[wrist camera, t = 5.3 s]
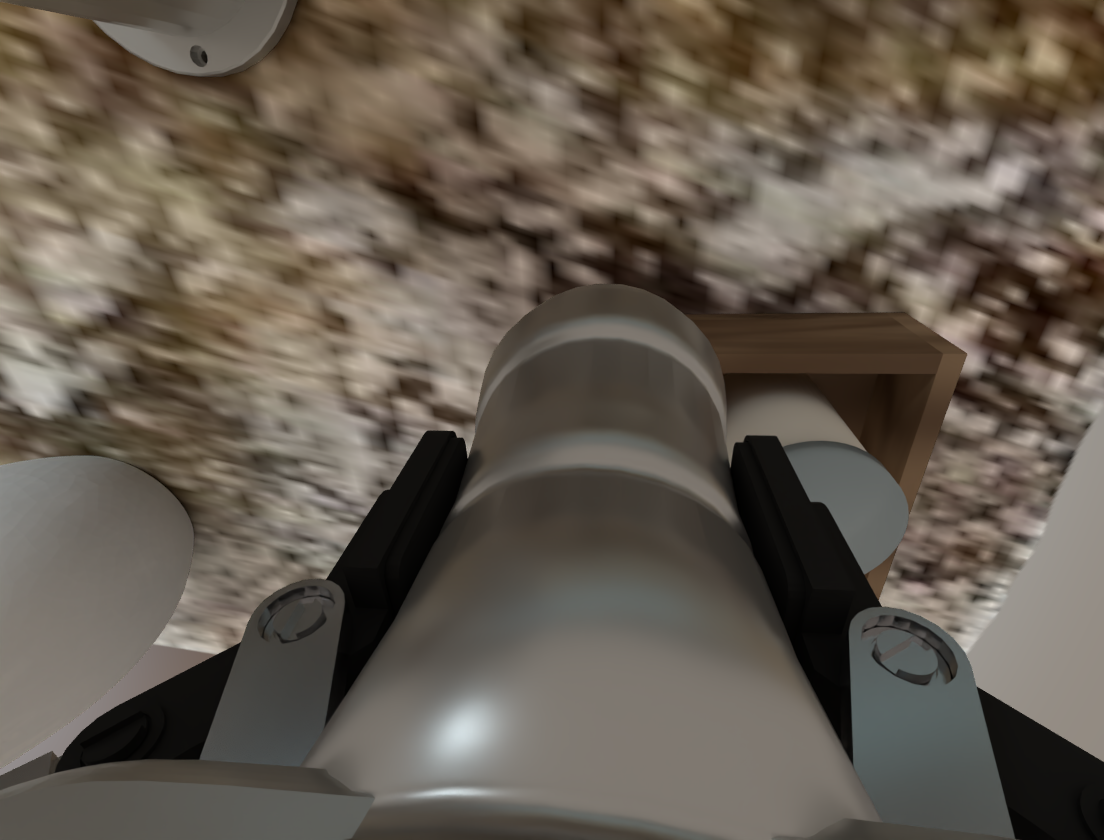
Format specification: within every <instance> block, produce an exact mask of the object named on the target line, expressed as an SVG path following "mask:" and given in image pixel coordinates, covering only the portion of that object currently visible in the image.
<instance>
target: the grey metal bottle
mask: <svg viewBox="0 0 1104 840" xmlns="http://www.w3.org/2000/svg"><path fill="white" fill-rule="evenodd" d="M726 439H727V401H726V392H725V383H724V379H723V374H722V370H721V366H720V362H719V359H718V357H717V355H716V354H715V352H714V350H713V348H712V346H711V344H710V342H709V340H708V339H707V338H706V336H705V335H704V334H703V333H702V332H701V330H700V329H699V328H698V327H697V326H696V325H695V323H694V322H693V321H692V320H690V319H689V318H688V317H687V316H685V315H684V314H683V313H682V312H680V311H679V310H678V309H676V308H675V307H674V306H673V305H671V304H670V303H669V302H667V301H666V300H665V299H663V298H661V297H659V296H657V295H654V294H652V293H650V292H648V291H646V290H643V289H639V288H635V287H631V286H626V285H622V284H594V285H588V286H582V287H576V288H574V289H571V290H568V291H566V292H563V293H560V294H558V295H555V296H554V297H552V298H550V299H549V300H547V301H546V302H544V303H542V304H541V305H539V306H537V307H536V308H535V309H533V310H532V311H531V312H529V313H528V314H527V315H525V316H524V317H523V318H522V319H521V320H520V321H519V322H518V323H517V324H516V325H514V326H513V327H512V328H511V329H510V330H509V331H508V332H507V333H506V335H505V336H504V337H503V339H502V340H501V342H500V343H499V345H498V346H497V347H496V349H495V350H494V352H493V354H492V357H491V359H490V361H489V364H488V366H487V368H486V371H485V374H484V379H483V383H482V388H481V392H480V397H479V402H478V407H477V413H476V424H475V437H474V440H473V444H472V447H471V450H470V454H469V457H468V460H467V464H466V467H465V471H464V474H463V477H462V481H461V484H460V488H459V491H458V494H457V498H456V501H455V503H454V505H453V507H452V509H451V511H450V513H449V515H448V517H447V519H446V520H445V523H444V525H443V527H442V529H441V531H440V534H439V536H438V538H437V540H436V541H435V542H434V544H433V546H432V548H431V550H430V552H429V553H428V555H427V557H426V559H425V561H424V563H423V565H422V567H421V569H420V571H419V573H418V575H417V577H416V579H415V581H414V583H413V585H412V587H411V589H410V590H409V592H408V594H407V596H406V598H405V600H404V602H403V604H402V606H401V608H400V610H399V612H398V614H397V616H396V618H395V620H394V621H393V623H392V624H391V626H390V627H389V629H388V631H387V632H386V634H385V635H384V637H383V638H382V640H381V641H380V643H379V644H378V646H377V648H376V649H375V651H374V652H373V654H372V655H371V657H370V658H369V660H368V662H367V663H366V665H365V666H364V668H363V669H362V671H361V672H360V674H359V675H358V677H357V679H356V680H355V682H354V683H353V685H352V686H351V688H350V689H349V691H348V692H347V694H346V696H345V697H344V699H343V700H342V702H341V703H340V705H339V706H338V708H337V709H336V711H335V713H334V714H333V716H332V717H331V719H330V720H329V722H328V723H327V725H326V727H325V728H324V730H323V731H322V733H321V734H320V736H319V737H318V739H317V740H316V742H315V744H314V745H313V747H312V748H311V750H310V751H309V753H308V754H307V756H306V757H305V759H304V761H303V762H302V764H301V765H300V767H308V768H319V769H326V770H327V772H328V774H329V775H330V776H332V777H334V778H335V779H337V780H339V781H340V782H341V783H342V784H344V785H345V786H346V787H348V788H349V789H350V790H351V791H355V792H361V793H368V794H371V795H372V796H374V797H375V800H374V802H373V803H372V805H371V807H370V808H369V810H368V812H367V813H366V815H365V817H364V819H363V820H362V822H361V824H360V825H359V827H358V829H357V830H356V832H355V834H354V835H353V837H352V838H349V839H344V840H772V839H771V838H773V837H776V836H788V837H804V838H807V837H810V836H813V835H815V834H816V833H818V832H819V831H821V830H822V829H824V828H826V827H828V826H830V825H832V824H834V823H836V822H838V821H840V820H842V819H844V818H847V819H858V820H866V821H875V822H882V820H881V818H880V816H879V814H878V812H877V811H876V809H875V807H874V805H873V803H872V801H871V799H870V797H869V795H868V793H867V791H866V790H865V788H864V786H863V784H862V782H861V780H860V778H859V776H858V774H857V772H856V770H855V769H854V767H853V764H852V762H851V760H850V759H849V757H848V755H847V753H846V751H845V749H844V747H843V745H842V743H841V741H840V739H839V737H838V735H837V734H836V732H835V730H834V728H833V726H832V724H831V722H830V720H829V718H828V716H827V714H826V712H825V711H824V709H823V707H822V705H821V703H820V701H819V699H818V697H817V695H816V693H815V691H814V689H813V688H812V686H811V684H810V682H809V680H808V678H807V676H806V674H805V672H804V670H803V668H802V666H801V665H800V663H799V661H798V659H797V656H796V654H795V651H794V649H793V646H792V644H791V641H790V639H789V636H788V634H787V631H786V629H785V626H784V624H783V621H782V619H781V616H780V614H779V611H778V609H777V606H776V604H775V601H774V599H773V596H772V594H771V591H770V589H769V586H768V584H767V581H766V579H765V576H764V574H763V571H762V569H761V567H760V566H759V564H758V562H757V560H756V559H755V557H754V553H753V549H752V545H751V542H750V539H749V537H748V534H747V532H746V529H745V527H744V524H743V522H742V520H741V517H740V515H739V511H738V506H737V501H736V495H735V490H734V484H733V479H732V474H731V469H730V462H729V457H728V451H727V446H726Z"/></svg>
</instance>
